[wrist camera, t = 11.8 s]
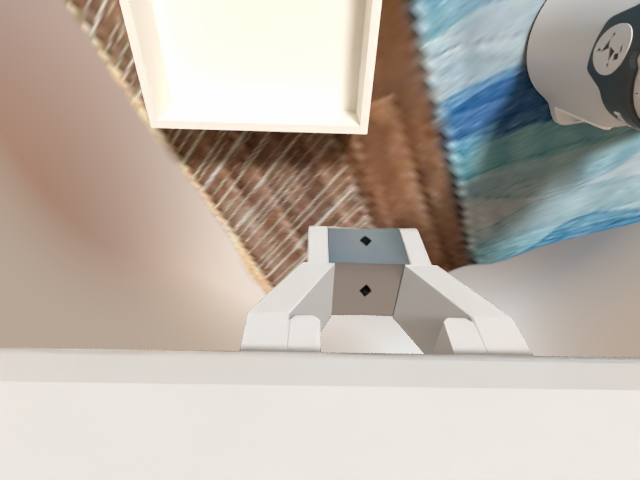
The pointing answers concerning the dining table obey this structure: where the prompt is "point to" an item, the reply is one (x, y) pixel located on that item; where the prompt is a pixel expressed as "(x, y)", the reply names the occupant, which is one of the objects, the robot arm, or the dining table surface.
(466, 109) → the dining table surface
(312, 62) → the drawer box
